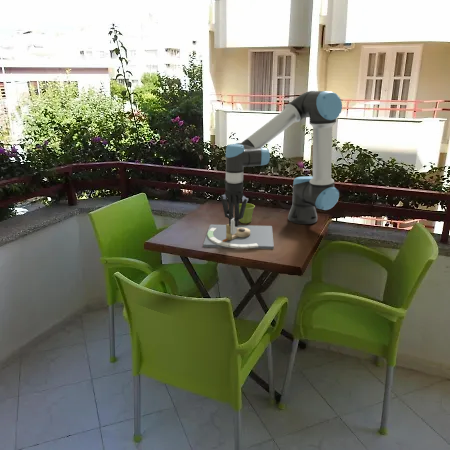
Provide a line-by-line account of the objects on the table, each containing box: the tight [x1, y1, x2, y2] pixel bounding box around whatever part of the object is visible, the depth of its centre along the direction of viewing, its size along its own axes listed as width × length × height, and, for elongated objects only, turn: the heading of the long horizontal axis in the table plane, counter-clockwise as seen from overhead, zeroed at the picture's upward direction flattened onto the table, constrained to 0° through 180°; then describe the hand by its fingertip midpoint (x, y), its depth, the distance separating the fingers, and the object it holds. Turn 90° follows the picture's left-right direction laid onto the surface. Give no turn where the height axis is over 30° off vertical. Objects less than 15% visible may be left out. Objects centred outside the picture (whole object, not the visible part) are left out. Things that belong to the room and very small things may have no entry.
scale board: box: [202, 224, 275, 250], centre depth 180 cm, size 31×29×2 cm
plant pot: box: [239, 202, 256, 224], centre depth 201 cm, size 9×9×9 cm
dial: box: [222, 223, 250, 242], centre depth 177 cm, size 17×8×7 cm, turn 138°
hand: (233, 232), depth 173 cm, fingers closed
